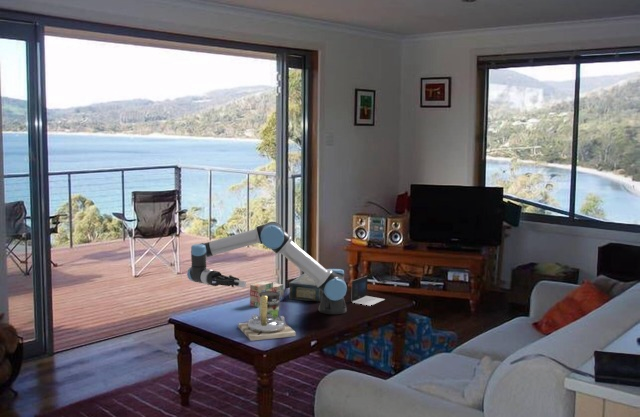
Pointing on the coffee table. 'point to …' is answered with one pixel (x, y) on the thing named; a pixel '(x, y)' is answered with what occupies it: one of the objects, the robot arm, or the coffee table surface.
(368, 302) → the laptop
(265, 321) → the disc stand with rod
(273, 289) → the stack of blocks
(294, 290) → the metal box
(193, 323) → the coffee table surface
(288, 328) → the base board
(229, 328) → the coffee table surface
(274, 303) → the coffee can
